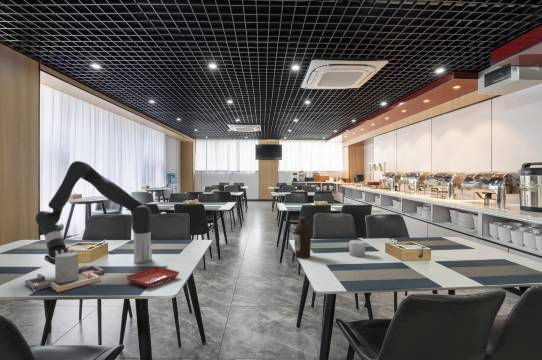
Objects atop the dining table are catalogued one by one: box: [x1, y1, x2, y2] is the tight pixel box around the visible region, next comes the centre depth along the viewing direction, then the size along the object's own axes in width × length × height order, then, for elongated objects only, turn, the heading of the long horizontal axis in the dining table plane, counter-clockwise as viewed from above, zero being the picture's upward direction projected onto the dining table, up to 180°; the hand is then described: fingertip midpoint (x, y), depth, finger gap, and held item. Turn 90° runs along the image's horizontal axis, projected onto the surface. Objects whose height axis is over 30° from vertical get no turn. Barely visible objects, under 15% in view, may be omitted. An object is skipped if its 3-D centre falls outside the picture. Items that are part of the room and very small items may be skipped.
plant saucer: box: [125, 266, 180, 288], centre depth 143 cm, size 18×18×3 cm
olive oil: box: [293, 216, 312, 259], centre depth 184 cm, size 11×11×25 cm
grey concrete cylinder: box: [54, 251, 79, 284], centre depth 144 cm, size 10×10×12 cm
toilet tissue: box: [346, 239, 366, 258], centre depth 188 cm, size 9×13×9 cm
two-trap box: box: [25, 264, 105, 293], centre depth 144 cm, size 29×29×2 cm
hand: (63, 269), depth 148 cm, fingers closed
